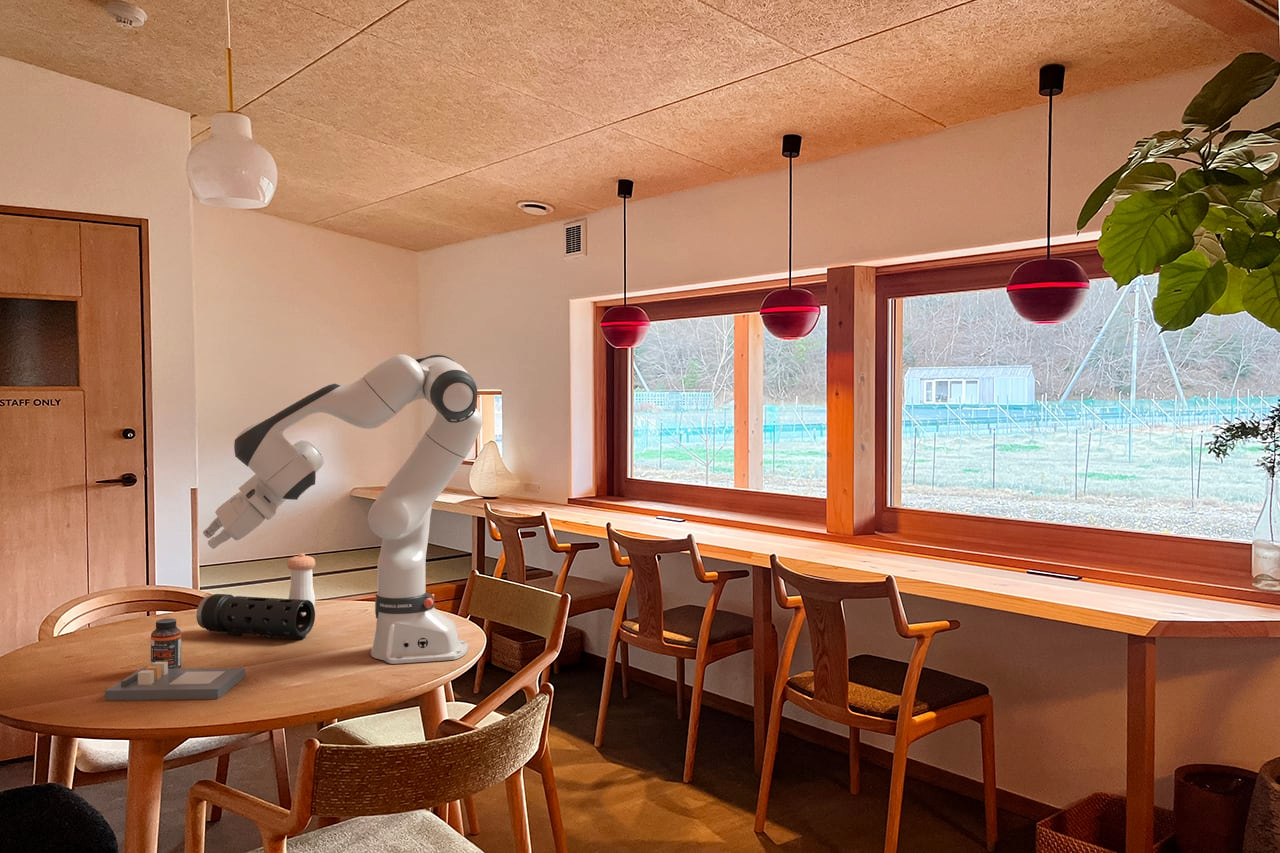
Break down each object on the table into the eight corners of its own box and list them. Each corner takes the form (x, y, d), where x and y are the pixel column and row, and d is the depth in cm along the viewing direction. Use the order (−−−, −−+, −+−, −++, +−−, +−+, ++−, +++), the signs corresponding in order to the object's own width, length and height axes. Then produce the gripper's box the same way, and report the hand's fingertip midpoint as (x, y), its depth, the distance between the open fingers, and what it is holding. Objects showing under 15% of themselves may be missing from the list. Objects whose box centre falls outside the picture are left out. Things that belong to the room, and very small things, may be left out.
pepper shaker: (314, 627, 233) (314, 555, 232) (285, 629, 231) (284, 556, 230) (318, 620, 240) (317, 550, 239) (289, 622, 238) (289, 551, 237)
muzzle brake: (294, 645, 216) (294, 603, 216) (194, 638, 222) (193, 597, 222) (316, 635, 226) (315, 595, 225) (219, 629, 231) (219, 589, 231)
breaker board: (245, 676, 191) (244, 656, 191) (217, 698, 178) (217, 676, 177) (140, 678, 190) (140, 657, 190) (105, 700, 176) (104, 678, 176)
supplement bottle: (150, 676, 191) (149, 624, 191) (151, 669, 197) (150, 618, 196) (181, 672, 194) (180, 621, 194) (181, 665, 199) (180, 615, 199)
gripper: (241, 479, 207) (192, 520, 202) (255, 496, 189) (202, 542, 185) (260, 498, 209) (212, 539, 205) (276, 517, 192) (223, 562, 188)
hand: (207, 540), depth 195 cm, fingers open, 8 cm apart
